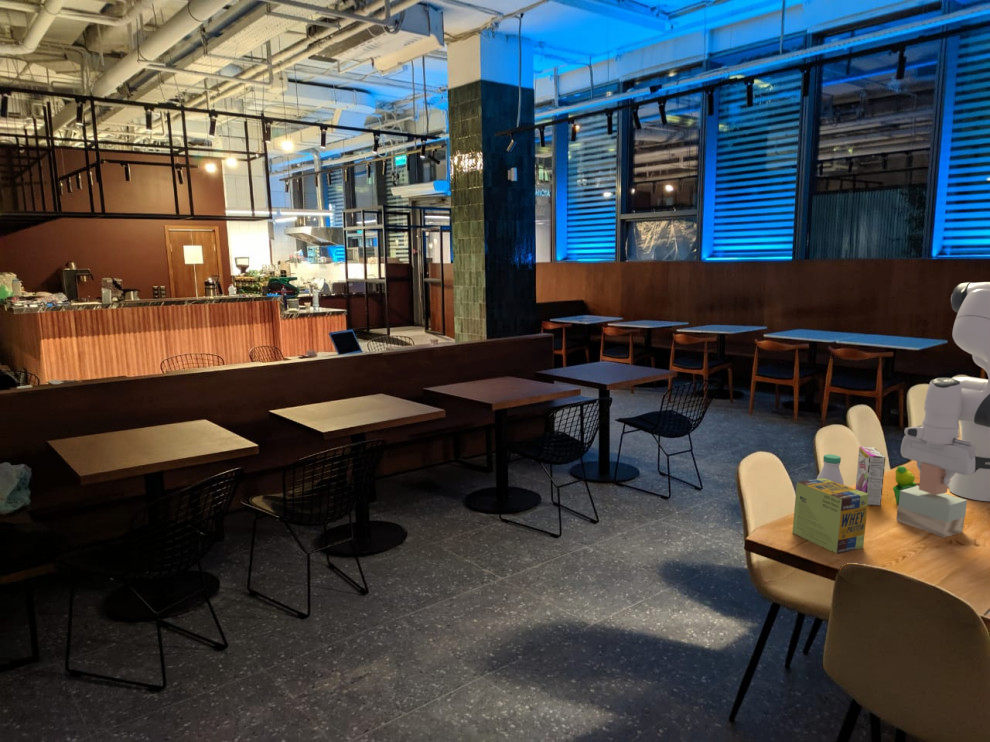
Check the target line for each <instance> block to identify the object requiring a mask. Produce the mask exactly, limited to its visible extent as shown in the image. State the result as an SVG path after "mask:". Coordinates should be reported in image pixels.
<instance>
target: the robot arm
mask: <svg viewBox="0 0 990 742" xmlns="http://www.w3.org/2000/svg"><path fill="white" fill-rule="evenodd" d="M950 304H951V309H952V310H953V311H954V312H955V313H956V317H955V320H954V323H953V328H952V339H953V341H954V343H955V344H956V346H958V347H959V348H960V349H961V350H963V351H964V352H967V353H968V354H970V355H971V356H972V357H971V358H972V360H973V362H974V363H975V365H977V366H978V367H980V368H982V369H983V370H984V371H985V372H986V374H987V377H988V379H986V378H980V377H974V376H953V377H937V378H935V379H934V378H933V379H931V380H930V382H929V385H928V388H927V391H926V394H925V400H924V401H925V402H924V405H923V406H924V407H923V409H924V418H923V420H922V425H917V426H910V427H905V428H904V436H903V438H902V441H901V445H900V454H901V457H902V458H905V459H908V460H912V461H915V462H916V466H917V468H918V472H919V477H920V474H921V465H922V463H926V464H929V465H933V466H936V467H940V468H941V469H945V470H946V472H945V473H946V474H947V475H946V476H945V477H944V478H941V484H944V485H948V487H947V488H948V489H949V492H950V493H953V494H954V495H956V496H957V497H958V496H959V497H960V498H965V499H970V500H974V501H981V502H983V501H984V502H990V281H983V282H982V281H981V282H980V281H979V282H972V281H969V282H968V281H967V282H963V283H959V284H958V285H957V286H956V287H955V288H954V289H953V291H952V294H951V297H950ZM959 422H960V424H959ZM960 427H961V439H958V438H959V431H960V430H959V429H960Z"/></svg>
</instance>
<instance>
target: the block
mask: <svg viewBox="0 0 990 742" xmlns="http://www.w3.org/2000/svg"><path fill="white" fill-rule="evenodd" d="M945 472H946V470H945V469H941V468H940V467H936V466H933V465H929V464H926V463H922V465H921V474H920V473H919V475H920V476H919V490H922V491H925V492H928V493H931V494H934V495H937V494H942V493H944V494H947V493H948V488H949V487H948V485H944V484H941V478H944V477H945V476H946V475H947V474H946V473H945Z"/></svg>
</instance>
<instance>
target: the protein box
mask: <svg viewBox="0 0 990 742" xmlns="http://www.w3.org/2000/svg"><path fill="white" fill-rule="evenodd" d="M868 495H869V494H867V493H865V492H862V491H859V490H856V488H853V487H850V486H847V485H845V484H844V485H842V484H839V483H836V482H833V481H831V480H828V479H825V478H821V479H817V478H816V479H807V480H803V481H797V482H796V488H795V500H794V501H795V502H794V508H793V509H794V510H793V522H792V530H791V531H792V534H794V535H796V536H799V537H800V538H802V539H805V540H806V541H809V542H811V543H813V544H815V545H817V546H820V547H821V548H823V547H824V549H825V548H826V549H825V550H828V551H830V552H832V551H833V552H832V553H834V552H835V553H834V554H836V553H837V554H840V552H841V553H844V552H849V551H853V550H854V551H855V550H858V549H863V548H864V544H865V533H866V523H867V522H866V521H867V515H868V514H867V512H868V506H869V505H868Z"/></svg>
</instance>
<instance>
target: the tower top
mask: <svg viewBox="0 0 990 742" xmlns="http://www.w3.org/2000/svg"><path fill="white" fill-rule="evenodd" d="M967 504H968V499H966V498H965V499H964V498H963V497H958V496H954V495H950V494H947V493H942V494H937V495H934V494H931V493H928V492H925V491H922V490H919V486H915V487H911V488H908V489H904V490H901V491H900V497H899V503H898V505H897V508H898V507H901V508H904V509H907V510H911V511H914V512H917V513H920V514H923V515H926V516H929V517H933V518H936V519H939V520H942V521H945V522H951V521H954V520H957V519H959V518H962V517H964V518H965V517H966V511H967Z"/></svg>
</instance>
